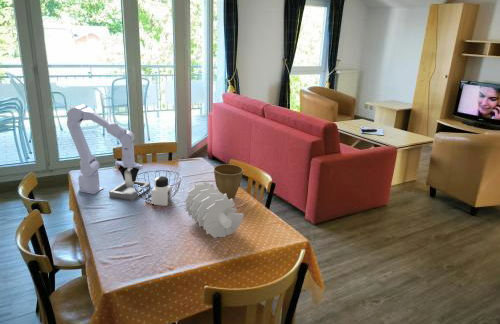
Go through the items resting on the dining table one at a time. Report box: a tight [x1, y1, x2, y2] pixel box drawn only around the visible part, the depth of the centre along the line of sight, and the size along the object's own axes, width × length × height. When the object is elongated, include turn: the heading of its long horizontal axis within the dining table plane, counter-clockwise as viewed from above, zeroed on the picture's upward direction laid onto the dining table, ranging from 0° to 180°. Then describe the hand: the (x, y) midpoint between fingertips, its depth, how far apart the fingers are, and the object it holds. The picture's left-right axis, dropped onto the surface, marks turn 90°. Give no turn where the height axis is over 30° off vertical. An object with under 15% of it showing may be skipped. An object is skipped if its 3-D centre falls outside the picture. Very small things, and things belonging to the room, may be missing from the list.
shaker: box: [124, 168, 134, 187], centre depth 192 cm, size 4×4×8 cm
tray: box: [108, 180, 151, 202], centre depth 195 cm, size 13×17×3 cm
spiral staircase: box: [184, 181, 245, 239], centre depth 164 cm, size 18×18×25 cm
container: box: [150, 175, 172, 207], centre depth 185 cm, size 8×8×13 cm
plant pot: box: [213, 163, 244, 200], centre depth 193 cm, size 15×15×16 cm
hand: (129, 180), depth 193 cm, fingers closed on shaker, 4 cm apart
